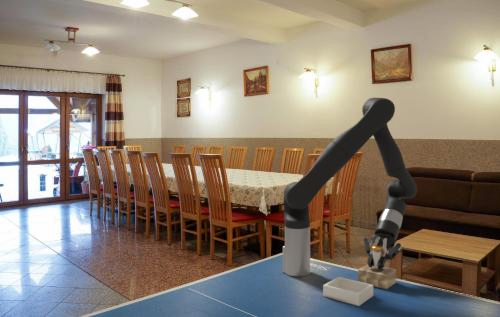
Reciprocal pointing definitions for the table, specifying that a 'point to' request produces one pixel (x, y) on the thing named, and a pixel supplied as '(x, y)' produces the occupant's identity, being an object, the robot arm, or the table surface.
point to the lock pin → (376, 257)
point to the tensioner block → (377, 276)
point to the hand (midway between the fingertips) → (374, 266)
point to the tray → (348, 291)
